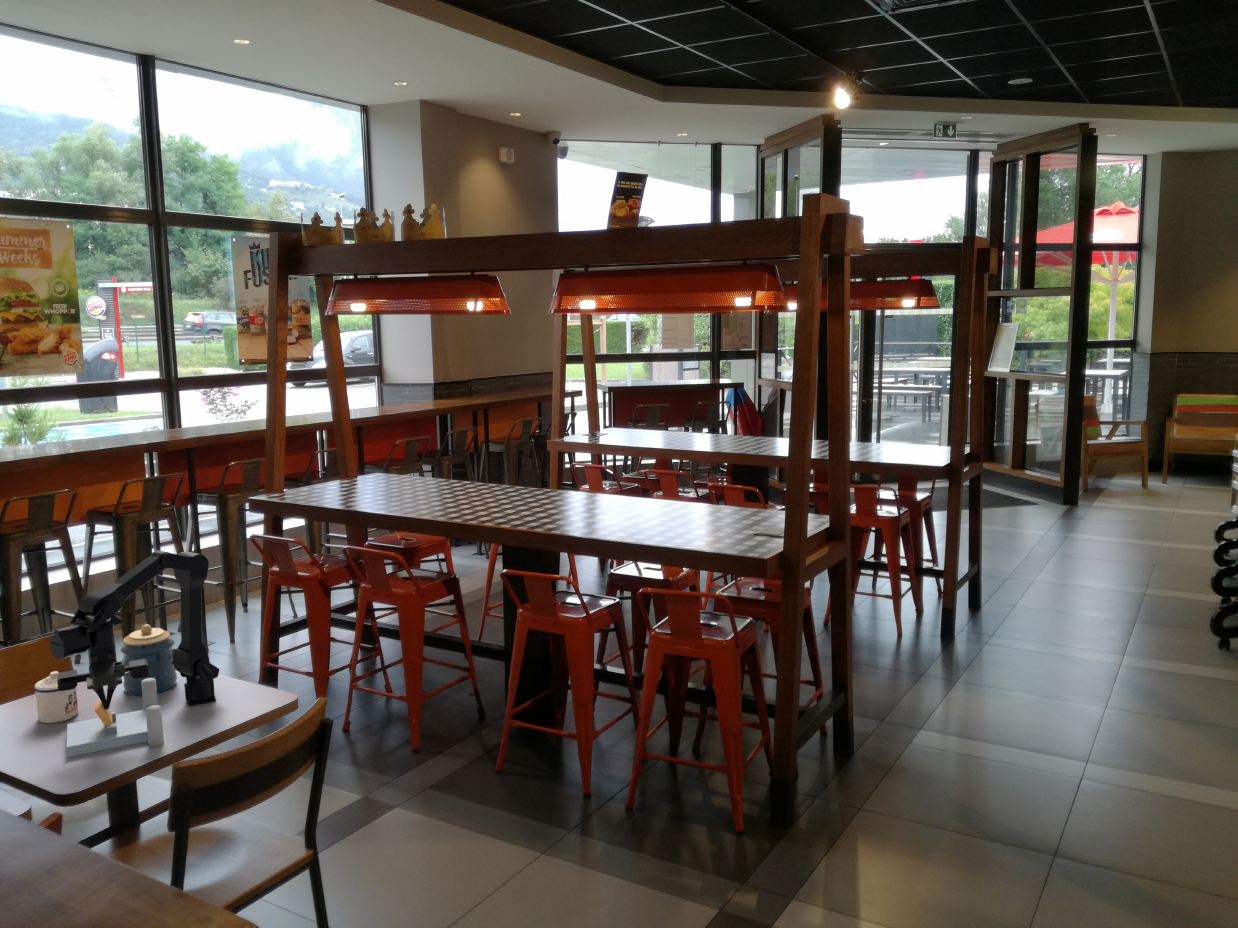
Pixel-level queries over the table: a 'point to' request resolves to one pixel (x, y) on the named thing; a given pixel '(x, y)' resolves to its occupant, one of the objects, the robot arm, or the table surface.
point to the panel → (97, 737)
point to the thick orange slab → (103, 713)
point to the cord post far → (149, 692)
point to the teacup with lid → (54, 700)
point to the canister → (150, 658)
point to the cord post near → (154, 725)
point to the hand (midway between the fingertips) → (107, 708)
